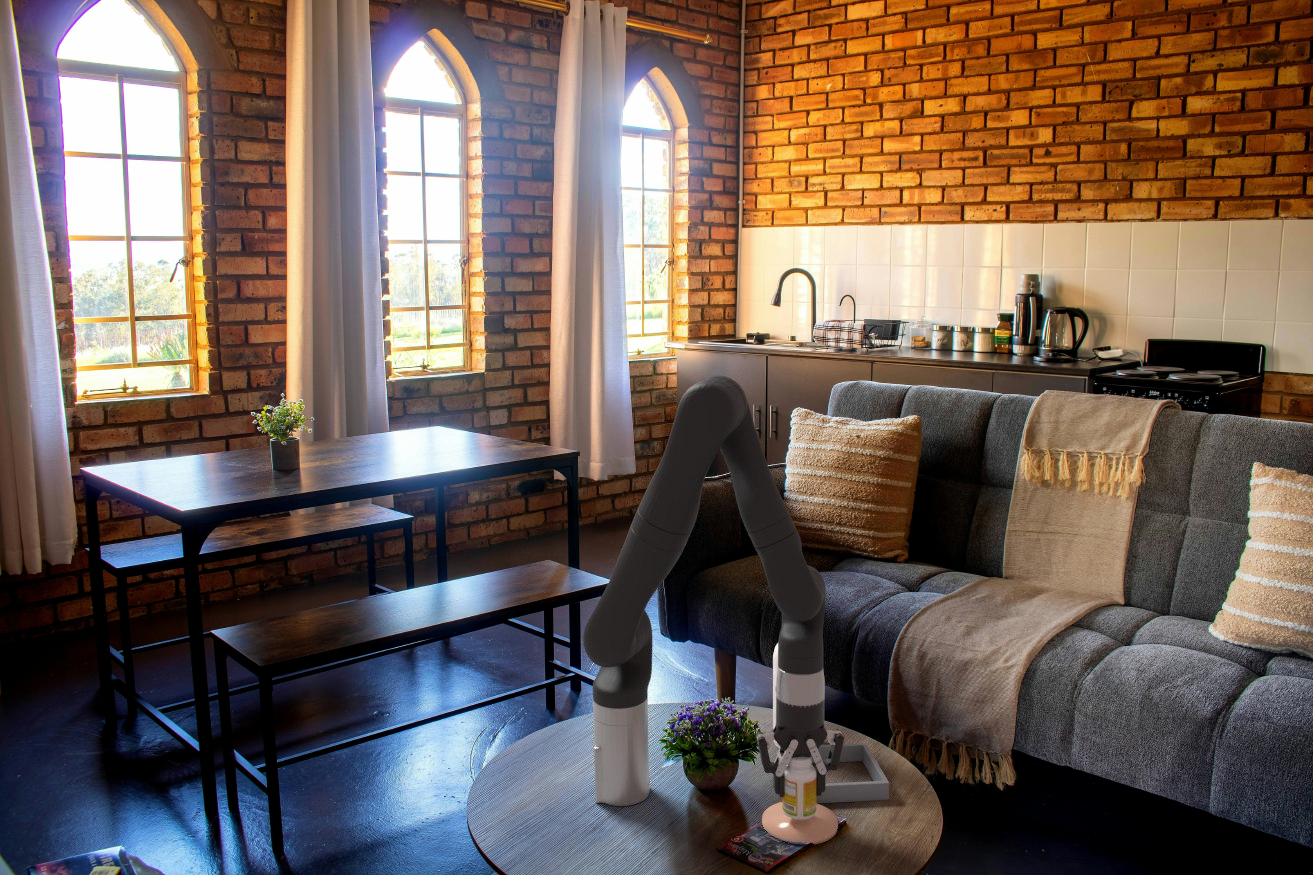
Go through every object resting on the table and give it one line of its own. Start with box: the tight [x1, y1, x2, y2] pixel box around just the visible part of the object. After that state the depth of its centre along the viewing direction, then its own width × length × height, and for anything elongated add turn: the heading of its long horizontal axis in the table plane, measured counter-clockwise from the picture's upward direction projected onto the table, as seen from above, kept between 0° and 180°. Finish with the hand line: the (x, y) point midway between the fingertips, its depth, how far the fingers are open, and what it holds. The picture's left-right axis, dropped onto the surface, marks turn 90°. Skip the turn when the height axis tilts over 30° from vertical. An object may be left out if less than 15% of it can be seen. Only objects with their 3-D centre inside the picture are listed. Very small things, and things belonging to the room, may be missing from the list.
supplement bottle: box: [781, 755, 817, 820], centre depth 160 cm, size 5×5×10 cm
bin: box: [812, 742, 890, 804], centre depth 175 cm, size 15×15×3 cm
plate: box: [761, 801, 839, 845], centre depth 161 cm, size 12×12×1 cm
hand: (799, 793), depth 160 cm, fingers closed on supplement bottle, 5 cm apart
